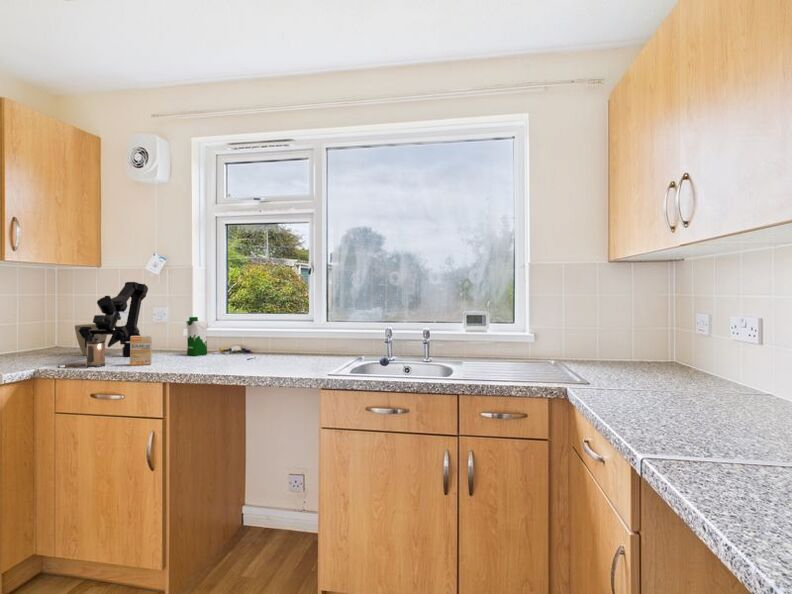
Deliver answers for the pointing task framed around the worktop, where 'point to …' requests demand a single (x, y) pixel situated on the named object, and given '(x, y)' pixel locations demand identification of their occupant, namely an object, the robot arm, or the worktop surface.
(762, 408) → the worktop surface
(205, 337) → the milk carton
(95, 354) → the copper cylinder
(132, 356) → the supplement box
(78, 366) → the trivet
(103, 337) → the plant pot
